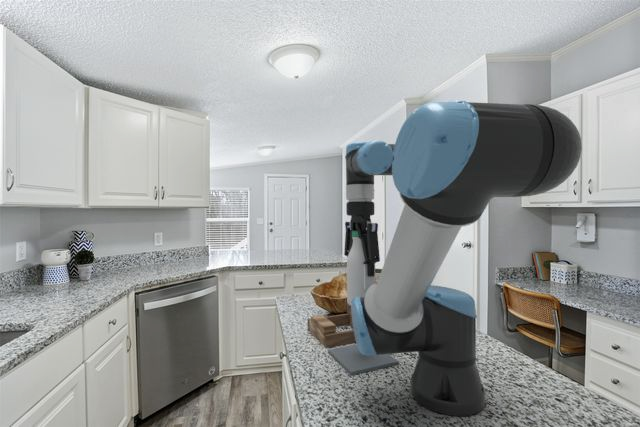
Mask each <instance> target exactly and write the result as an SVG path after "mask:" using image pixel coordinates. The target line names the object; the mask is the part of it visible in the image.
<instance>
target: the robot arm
mask: <svg viewBox="0 0 640 427" xmlns="http://www.w3.org/2000/svg"><path fill="white" fill-rule="evenodd" d="M582 145H583V144H582V138H581V134H580V132H579V129H578V127H577V126H576V125H575V124H574V122H573V121H572V120H571V119H570V118H569V117H568V116H567V115H565V114H564V113H562V112H561V111H560V110H557V109H555V108H552V107H548V106H545V105H540V104H528V103H527V104H517V103H497V102H496V103H493V102H492V103H491V102H469V101H468V102H467V101H466V100H460V99H456V100H449V101H436V102H435V101H433V102H427V103H424V104H422V105H421V106H419V107H418V108H416V109H414V110H413V111H412V112H411V113H410V114H409V115H408V117H407V118H406V119H405V121H404V122H403V124H402V125H401V128H400V130H399V132H398V134H397V137H396V139H395V143H393V144H392V143H386V141H383V140H379V139H377V140H372V141H355V142H352V143H348V144H347V146H346V148H345V179H346V182H345V183H346V184H345V185H346V186H345V198H346V201H347V202H346V203H345V204H346V215H347V216H349V217H350V221H345V223H344V226H345V235H344V236H345V239H344V252H343V253H344V256H345V257H346V258H348V255H349V252H350V250H351V248H352V244H353V239H352V237H353V236H352V231H357V232H358V236H359V239H361V243H362V248H363V252H364V257H365V262H363V264H364V289H368V290H367V292H366V294H365V297H361V296H359V297H356V298H353V299H352V301H351V314H352V323H353V327H352V330H354V335H355V340H356V343H355V345H356V344H357V347H358V349H359V351H360V352H361V353H362V354H363V355H375V356H378V355H384V354H389V355H394V354H405V353H418V356H417V357H418V358H417V360H416V363H415V367H414V371H413V373H412V375H411V377H410V394H411V396H412V398H414V400H415V401H416V402H417V403H419V404H420V405H421V406H423V407H424V408H426V409H428V410H431V411H433V412H436V413H439V414H443V415H448V416H455V417H463V416H465V417H466V416H472V415H476V414H478V413H480V412H481V411H483V409H484V408H485V406H486V392H485V388H484V386H483V384H482V379H481V377H480V373H479V370H478V367H477V363H476V362H477V361H476V359H477V358H476V356H477V347H476V346H477V345H476V344H477V343H476V342H477V340H476V339H477V337H476V336H477V334H476V333H477V326H476V325H477V322H476V320H477V318H478V315H477V311H476V310H477V309H476V301H475V299H474V298H473V296H472V295H470V294H469V293H467V292H465V291H461V290H460V289H455V288H451V287H447V286H440V285H434V284H432V283H433V281H434V280H435V278H436V276H437V274H438V272H439V270H440V269H441V266H442V265H443V262H444V261H445V258H446V257H447V255H448V253H449V251H450V249H451V247H453V246H452V245H453V244H454V242H455V240H456V238H457V236H458V234H459V233H460V230H461V229H462V228H463V227H467V226H470V225H472V224H475V223H476V222H478V221H479V219H480V218H481V217H482V215H483V213H484V212H485V210H486V208H487V206H488V204H489V202H490V201H491V200H492V199H493V198H516V197H517V198H519V197H520V198H521V197H531V196H532V197H533V196H536V195H540V194H544V193H546V192H547V193H548V191H551V190H553V189H556V188H557V187H559V186H560V185H561V184H563V183H564V182H565V181H566V180H567V179H569V177H571V175H573V173H574V171H575V170H576V168H577V167H578V164H579V162H580V159H581V156H582V150H583V146H582ZM375 176H392V180H393V183H394V186H395V188H396V189H397V191H398V192H399V197H400V199H401V201H402V202H403V204H404V206H403V209H402V211H401V215H400V218H399V219H398V223H397V226H396V228H395V232H394V234H393V237H392V240H391V243H390V246H389V249H388V252H387V253H386V258H385V260H384V263H383V266H382V269H381V272H380V274H379V278H378V280H377V281H375V283H374V275H375V276H376V271H375V272H374V265H375V266H376V263H380V261H381V258H380V256H381V255H380V248H379V236H378V231H379V224H378V223H377V222H372V219H371V216H374V215H375V202H374V201H373V200H375ZM362 234H367V235H362Z"/></svg>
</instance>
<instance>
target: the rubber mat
mask: <svg viewBox="0 0 640 427" xmlns="http://www.w3.org/2000/svg"><path fill="white" fill-rule="evenodd" d="M327 353H328V354H329V356H330V357H332V358H333V359H334V360H335V362H337V363H338V365H340V366H341V367H342V369H344V370H345V371H346V372H347V373H348V374H349V375H350V376H355V375H359V374H362V373H367V372H371V371H376V370H380V369H384V368H388V367H394V366H399V364H400V363H399V362H400V361H399V360H397V359H396V358H395V357H393V356H391V354H384V355H378V356H375V355H363V354H362V353H361V352H360V351H359V349H358V347H357V344H356V343H355V344H351V345H346V346H345V345H344V346H342V347H341V346H339V347H336V348H330V349H329V348H328V349H327Z"/></svg>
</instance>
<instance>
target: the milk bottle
mask: <svg viewBox="0 0 640 427" xmlns="http://www.w3.org/2000/svg"><path fill="white" fill-rule="evenodd" d="M362 235H367V234H362ZM352 236H353V237H352V239H353V244H352V248H351V250H350V252H349V255H348V258H347V257H346V258H347V260H346V304H347V303H348V304H349V305H350V306H351V301H352V299H353V298H356V297H359V296H361V297H365V294H366V292H367V290H368V289H364V264H363V262H365V257H364V252H363V248H362V243H361V239H359V236H358V232H357V231H352ZM374 272H375V273H376V264H375V265H374ZM374 283H376V274H375V275H374Z"/></svg>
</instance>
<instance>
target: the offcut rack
mask: <svg viewBox="0 0 640 427" xmlns="http://www.w3.org/2000/svg"><path fill="white" fill-rule="evenodd" d="M347 324H349V326H350V325H351V326H350V327H352V328H353V323H352V314H351V306H350V305H349V304H348V303H347V302H346V313H341V314H336V315H329V316H328V315H327V316H325V315H323V314H318V315H311V316H310V318H308V319H307V330H308V331H309V332H310V333H311V334H312V335H313V336H314V338H316V339H317V340H318V342H320V343H322V345H323V346H324V347H325V348H327V349H329V348H333V347H341V346H343V345H344V346H345V345H349V343H350V344H356V343H355V342H356V340H355V335H354V330H353V329H352V330H351V329H350V330H344V331H338V332H337V327H343V326H347Z"/></svg>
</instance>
